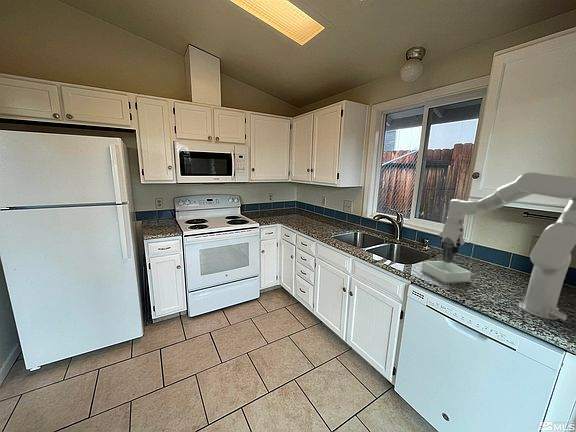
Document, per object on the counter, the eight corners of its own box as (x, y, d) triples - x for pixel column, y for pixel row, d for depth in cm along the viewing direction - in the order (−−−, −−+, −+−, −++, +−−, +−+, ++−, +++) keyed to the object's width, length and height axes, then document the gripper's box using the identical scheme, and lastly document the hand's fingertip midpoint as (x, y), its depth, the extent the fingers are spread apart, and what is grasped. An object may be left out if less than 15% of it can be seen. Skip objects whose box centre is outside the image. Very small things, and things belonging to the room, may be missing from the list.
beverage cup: (456, 264, 134) (463, 230, 130) (442, 263, 135) (449, 229, 131) (450, 260, 141) (457, 227, 137) (437, 258, 142) (443, 226, 138)
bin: (469, 281, 133) (471, 271, 132) (445, 283, 129) (446, 273, 128) (443, 269, 149) (445, 260, 148) (421, 270, 146) (423, 261, 144)
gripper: (474, 224, 126) (468, 256, 129) (446, 218, 142) (441, 245, 146) (463, 224, 124) (457, 256, 127) (436, 218, 140) (431, 246, 144)
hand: (448, 250), depth 136 cm, fingers closed on beverage cup, 6 cm apart
